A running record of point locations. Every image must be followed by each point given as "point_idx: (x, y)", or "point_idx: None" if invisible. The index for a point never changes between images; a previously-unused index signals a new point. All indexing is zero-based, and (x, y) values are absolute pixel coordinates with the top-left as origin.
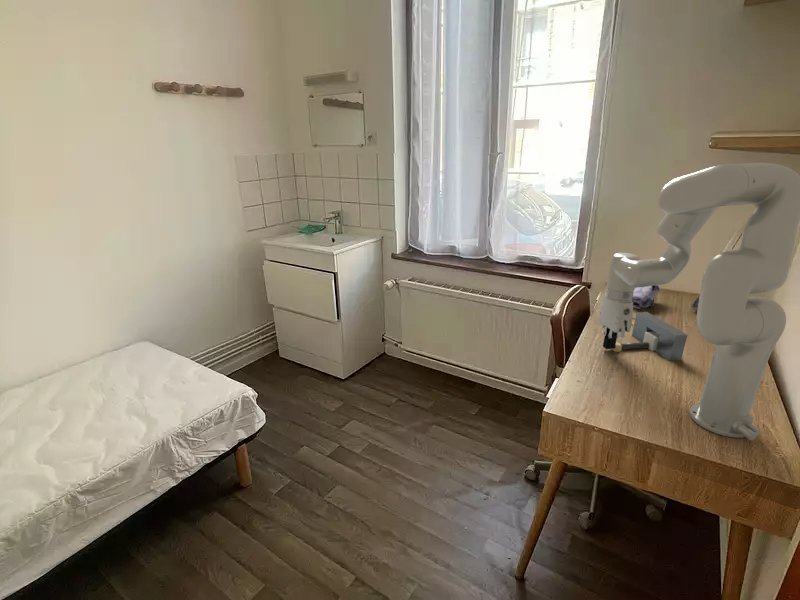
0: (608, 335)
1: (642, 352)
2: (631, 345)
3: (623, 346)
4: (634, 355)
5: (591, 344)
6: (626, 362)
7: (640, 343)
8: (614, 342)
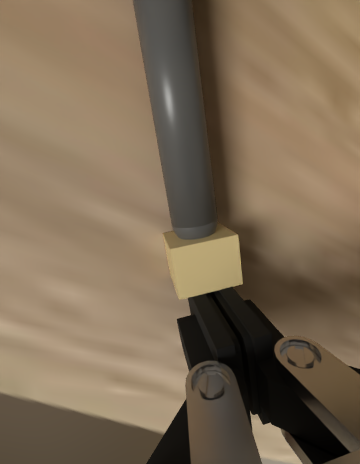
0: (290, 442)
1: (238, 53)
2: (203, 127)
3: (214, 207)
4: (277, 150)
5: (118, 373)
6: (348, 245)
7: (181, 3)
8: (269, 326)
